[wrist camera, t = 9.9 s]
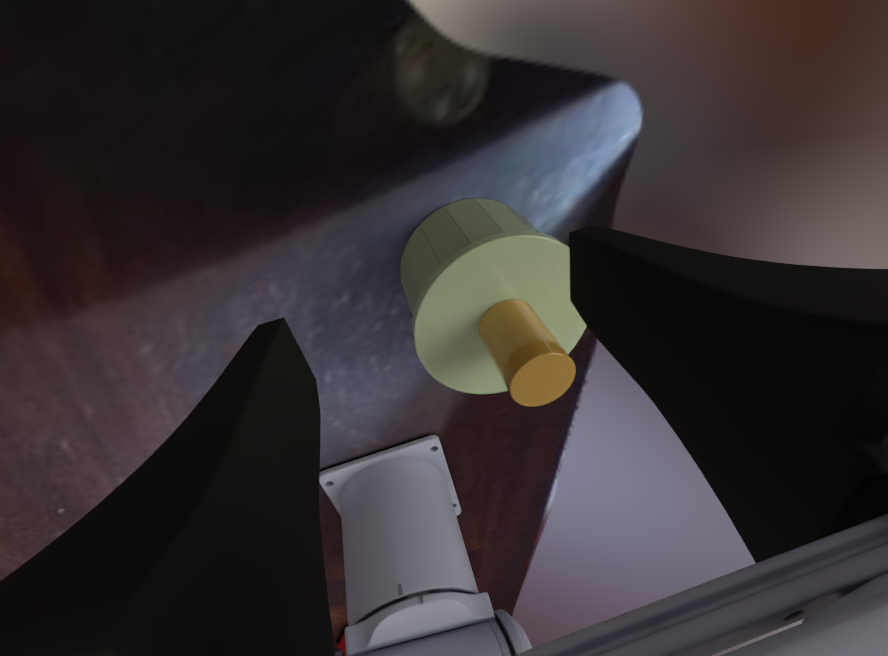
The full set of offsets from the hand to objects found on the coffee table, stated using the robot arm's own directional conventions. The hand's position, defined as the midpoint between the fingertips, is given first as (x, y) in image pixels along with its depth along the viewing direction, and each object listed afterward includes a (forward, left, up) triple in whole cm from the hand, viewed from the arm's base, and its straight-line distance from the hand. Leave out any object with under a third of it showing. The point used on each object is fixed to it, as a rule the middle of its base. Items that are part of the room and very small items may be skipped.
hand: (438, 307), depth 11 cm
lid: (-5, -3, -5) cm, 8 cm away
